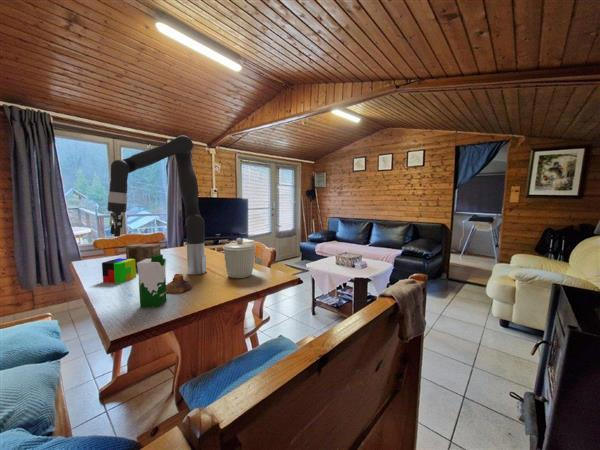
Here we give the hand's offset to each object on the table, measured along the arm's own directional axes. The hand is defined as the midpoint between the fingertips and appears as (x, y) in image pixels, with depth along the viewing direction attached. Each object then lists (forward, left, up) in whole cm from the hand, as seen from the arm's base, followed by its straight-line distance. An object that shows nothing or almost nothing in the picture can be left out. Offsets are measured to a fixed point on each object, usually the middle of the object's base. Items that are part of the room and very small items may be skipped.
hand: (114, 235), depth 126 cm
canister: (-57, -15, -24) cm, 64 cm away
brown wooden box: (+3, -27, -24) cm, 36 cm away
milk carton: (-31, +24, -24) cm, 46 cm away
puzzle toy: (+3, -6, -24) cm, 25 cm away
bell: (-33, +7, -25) cm, 42 cm away
